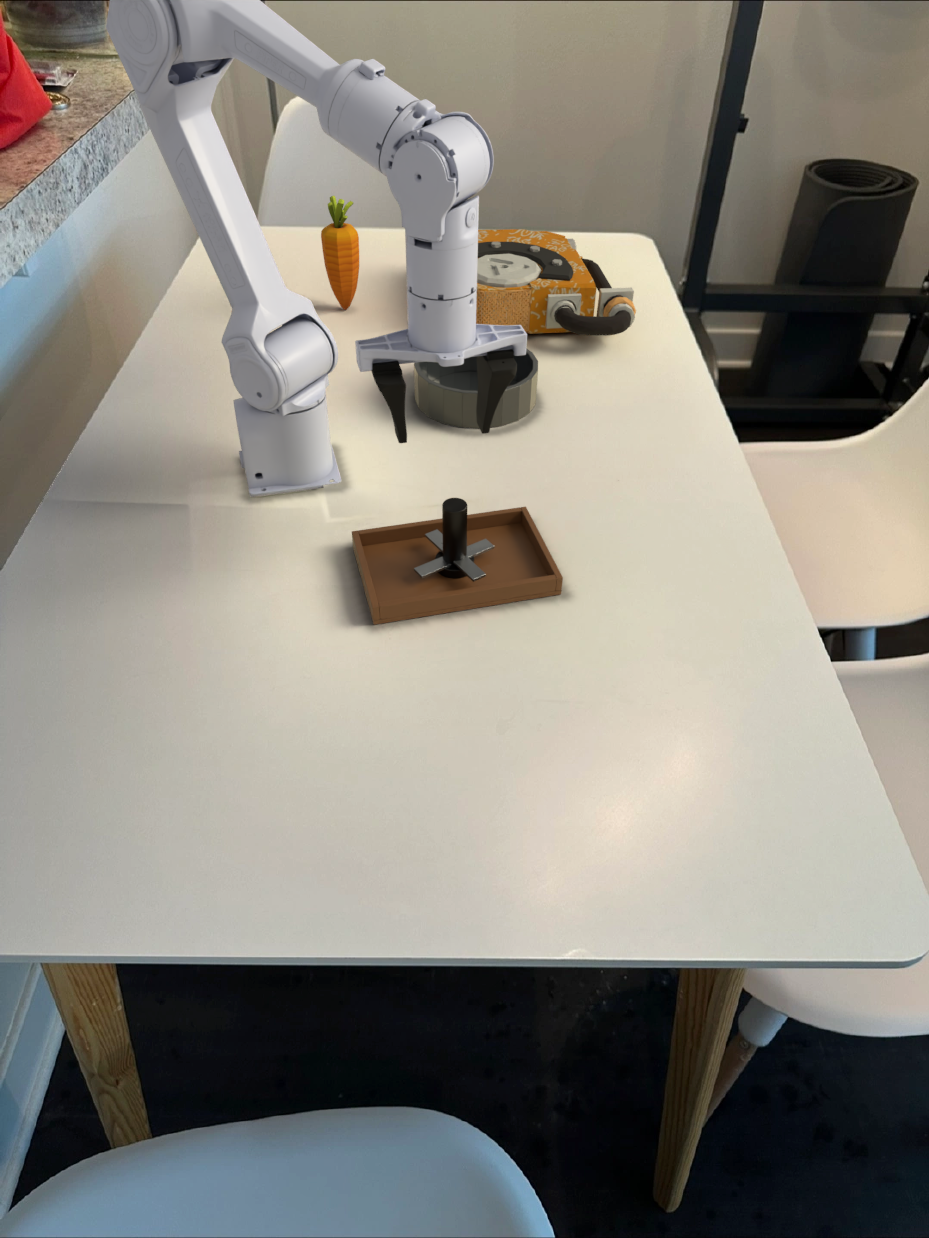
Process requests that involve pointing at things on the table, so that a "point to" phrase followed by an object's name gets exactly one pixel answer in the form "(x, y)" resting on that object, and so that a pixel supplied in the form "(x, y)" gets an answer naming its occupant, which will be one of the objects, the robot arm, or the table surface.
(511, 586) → the tray
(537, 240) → the device
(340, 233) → the carrot
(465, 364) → the processor bowl
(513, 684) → the table surface
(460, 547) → the blade
